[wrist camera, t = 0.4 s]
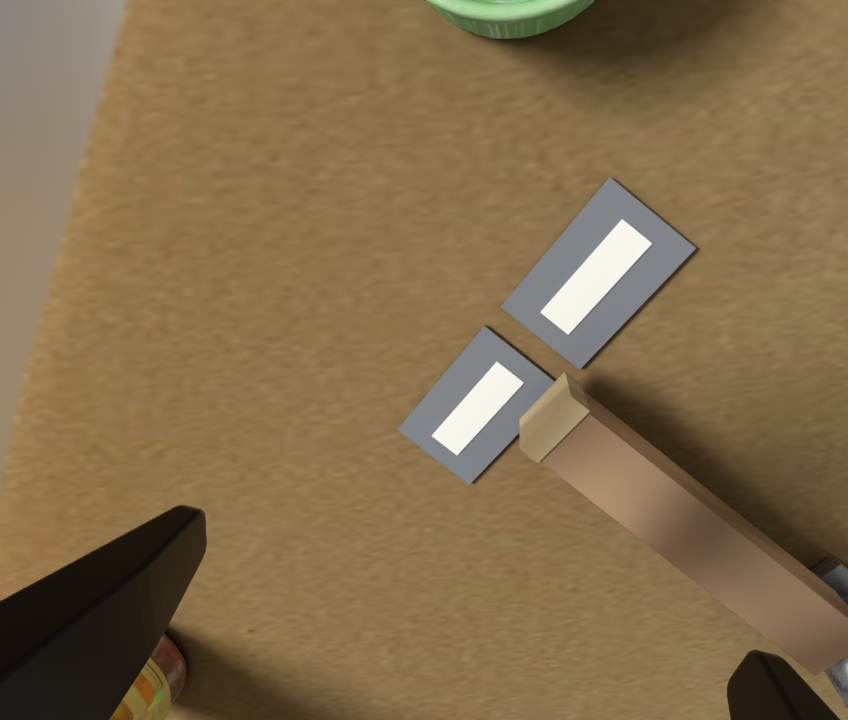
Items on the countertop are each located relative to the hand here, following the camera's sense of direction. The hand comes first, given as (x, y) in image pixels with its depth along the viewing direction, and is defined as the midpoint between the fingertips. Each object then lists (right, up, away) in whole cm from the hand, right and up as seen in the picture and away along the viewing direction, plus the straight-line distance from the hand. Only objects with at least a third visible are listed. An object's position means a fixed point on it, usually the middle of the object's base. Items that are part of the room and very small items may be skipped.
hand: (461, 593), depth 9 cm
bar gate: (+9, -2, +12) cm, 15 cm away
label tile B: (+6, +7, +11) cm, 14 cm away
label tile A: (+2, +2, +14) cm, 14 cm away
